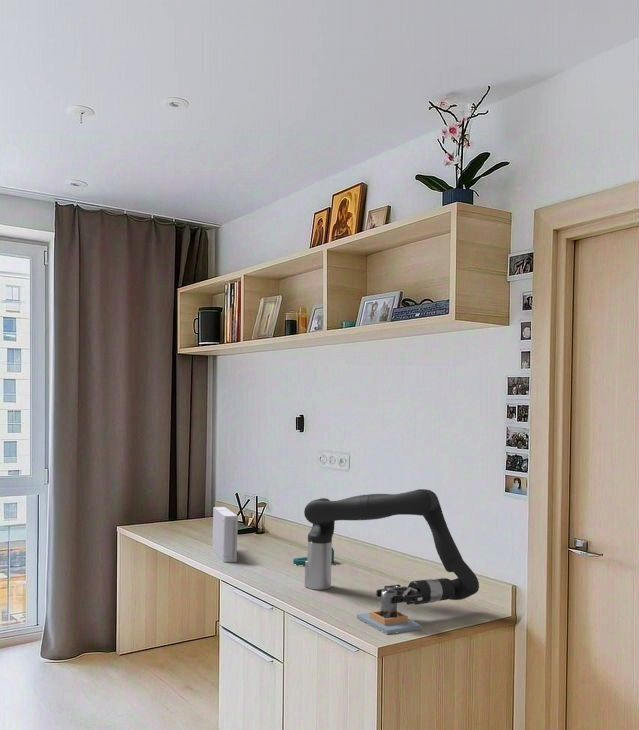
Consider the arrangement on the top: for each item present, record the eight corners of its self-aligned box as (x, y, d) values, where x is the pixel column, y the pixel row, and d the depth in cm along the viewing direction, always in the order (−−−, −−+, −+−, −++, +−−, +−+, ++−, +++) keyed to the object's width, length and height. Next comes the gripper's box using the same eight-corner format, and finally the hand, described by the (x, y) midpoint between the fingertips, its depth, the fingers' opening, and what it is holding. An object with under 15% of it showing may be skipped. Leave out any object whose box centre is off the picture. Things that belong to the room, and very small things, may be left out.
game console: (223, 562, 315) (224, 516, 316) (211, 550, 341) (212, 507, 342) (236, 562, 317) (237, 516, 318) (223, 549, 343) (225, 506, 344)
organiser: (356, 618, 239) (356, 608, 240) (390, 613, 245) (390, 604, 246) (386, 634, 224) (386, 624, 224) (421, 629, 230) (421, 619, 230)
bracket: (325, 560, 326) (326, 542, 327) (333, 563, 320) (334, 544, 321) (290, 563, 317) (290, 545, 317) (298, 567, 311) (298, 548, 312)
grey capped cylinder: (378, 620, 233) (378, 591, 234) (384, 616, 238) (384, 587, 238) (393, 623, 231) (394, 593, 232) (399, 618, 236) (399, 590, 236)
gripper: (413, 575, 248) (372, 579, 240) (438, 585, 235) (396, 590, 228) (412, 597, 248) (371, 602, 240) (438, 608, 235) (396, 614, 228)
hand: (383, 596), depth 234 cm, fingers open, 8 cm apart
